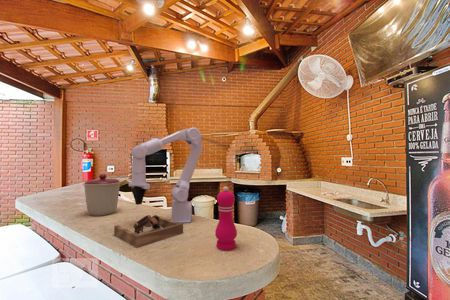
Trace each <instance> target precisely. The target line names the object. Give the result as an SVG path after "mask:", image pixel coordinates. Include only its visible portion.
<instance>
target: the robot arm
mask: <svg viewBox="0 0 450 300" xmlns="http://www.w3.org/2000/svg"><path fill="white" fill-rule="evenodd" d="M202 138H203V137H202V133H201V131H200V130H199V129H198V128H197V127H189V128H186V129H181V130H178V131H176V132H174V133H172V134H169V135H167V136H165V137H162V138H157V137H155V138H153V137H152V138H150V139H149V140H148V141H145V142H144V143H143V142H141V143H140V144H138V145H136V146H134V147H132V149H131V152H130V153H131V156H132V157H131V181H128V187H132V188H130V191H131V193H132V196H133V197H134V202H135V205H137V206H139V205H142V203H143V202H144V201H143V200H144V197H145V194H146V192H147V190H149V189H151V185H150V183H148V182H147V178H146V175H147V174H146V173H147V172H146V165H147V164H146V163H147V162H146V156H149V155H153V154H154V153H157V152H159V151H161V150H162V149H163V147H164V146H165V145H167V144H170V143H173V142H175V141H177V140H178V141H179V140H180V141H185V142H186V143H187V144H188V146H189V148H190V152H189V154H188V157H187V159H186V161H185V164H184V167H183V169H182V171H181V174H180V176H179V179H178V180H177V182H176V183H175V186H173V187H172V189H171V191H170V196H171V197H172V200H171V218H170V220H172V221H175V222H178V223H181V224H183V223H185V224H186V223H191V222H192V219H193V201H188V198H189V189H190V183H191V179H192V177H193V175H194V172H195V171H196V170H195V169H196V167H197V164H198V162H199V159H200V156H201V154H202V152H203V139H202Z"/></svg>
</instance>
